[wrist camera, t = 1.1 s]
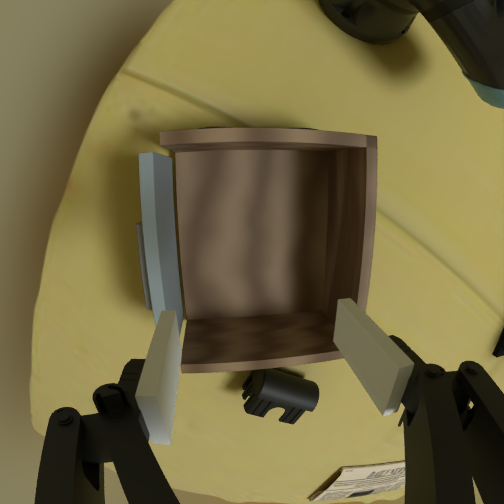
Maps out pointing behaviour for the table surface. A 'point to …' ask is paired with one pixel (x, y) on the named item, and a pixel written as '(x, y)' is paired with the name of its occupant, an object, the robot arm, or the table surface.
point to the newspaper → (364, 481)
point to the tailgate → (158, 236)
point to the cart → (271, 241)
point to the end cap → (279, 394)
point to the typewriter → (499, 346)
